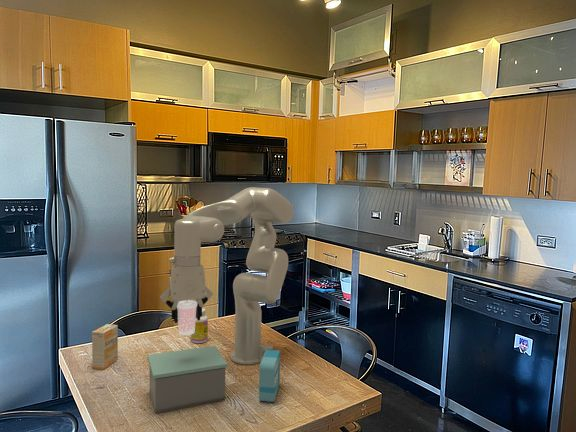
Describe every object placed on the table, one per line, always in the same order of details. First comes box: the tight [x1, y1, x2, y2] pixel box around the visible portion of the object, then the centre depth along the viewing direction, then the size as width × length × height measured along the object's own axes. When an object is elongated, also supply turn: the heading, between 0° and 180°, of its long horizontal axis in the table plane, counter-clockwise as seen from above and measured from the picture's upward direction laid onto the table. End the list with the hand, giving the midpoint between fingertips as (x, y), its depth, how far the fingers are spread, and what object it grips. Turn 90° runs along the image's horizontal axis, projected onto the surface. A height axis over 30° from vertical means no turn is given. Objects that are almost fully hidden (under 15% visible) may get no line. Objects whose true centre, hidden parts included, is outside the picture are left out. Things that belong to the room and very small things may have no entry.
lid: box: [147, 345, 229, 379], centre depth 130 cm, size 21×15×1 cm
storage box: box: [149, 367, 226, 414], centre depth 131 cm, size 20×14×10 cm
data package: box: [258, 349, 281, 403], centre depth 133 cm, size 12×4×12 cm, turn 173°
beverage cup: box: [177, 300, 198, 336], centre depth 128 cm, size 6×6×14 cm
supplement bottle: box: [190, 307, 209, 344], centre depth 173 cm, size 7×7×13 cm
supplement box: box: [91, 323, 119, 371], centre depth 150 cm, size 8×5×13 cm, turn 168°
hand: (186, 319), depth 129 cm, fingers closed on beverage cup, 6 cm apart
